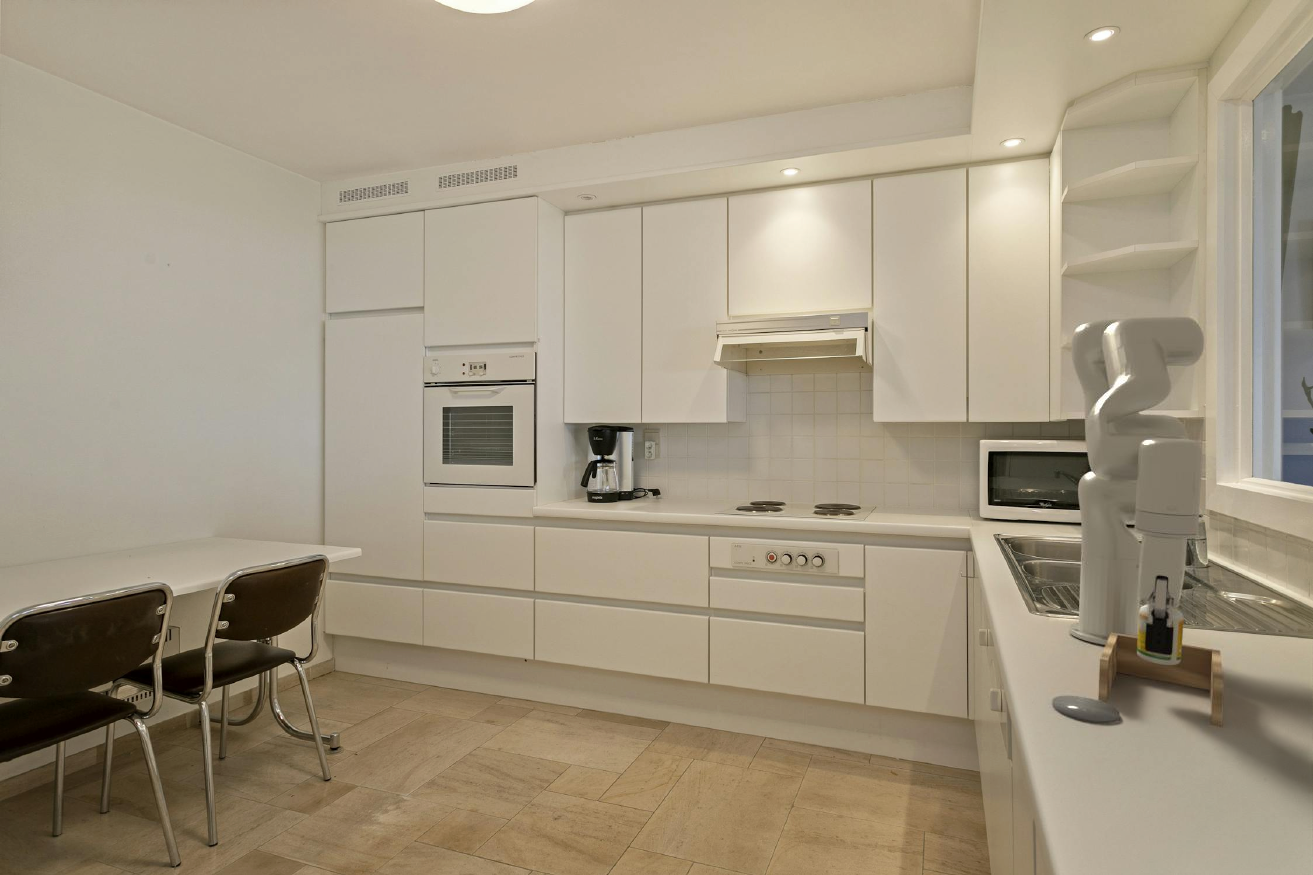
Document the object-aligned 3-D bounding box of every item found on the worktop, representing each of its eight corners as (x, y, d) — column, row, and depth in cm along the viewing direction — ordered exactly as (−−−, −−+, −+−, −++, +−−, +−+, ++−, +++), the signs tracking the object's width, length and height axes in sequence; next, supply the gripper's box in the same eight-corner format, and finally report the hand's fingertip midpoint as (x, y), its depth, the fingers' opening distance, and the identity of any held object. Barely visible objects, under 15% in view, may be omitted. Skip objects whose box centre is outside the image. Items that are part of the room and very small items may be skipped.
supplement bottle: (1155, 666, 102) (1159, 600, 102) (1127, 652, 108) (1131, 589, 107) (1190, 665, 103) (1194, 599, 102) (1161, 651, 108) (1164, 589, 108)
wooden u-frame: (1109, 668, 117) (1111, 632, 117) (1218, 689, 109) (1220, 650, 109) (1098, 699, 104) (1099, 658, 104) (1221, 726, 95) (1223, 681, 95)
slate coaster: (1056, 695, 105) (1057, 691, 105) (1121, 709, 100) (1122, 705, 100) (1047, 712, 99) (1048, 707, 99) (1116, 728, 94) (1116, 723, 94)
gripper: (1138, 513, 113) (1132, 626, 114) (1130, 529, 99) (1123, 657, 101) (1198, 518, 109) (1191, 636, 110) (1198, 536, 95) (1190, 670, 96)
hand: (1159, 645), depth 105 cm, fingers closed on supplement bottle, 5 cm apart
